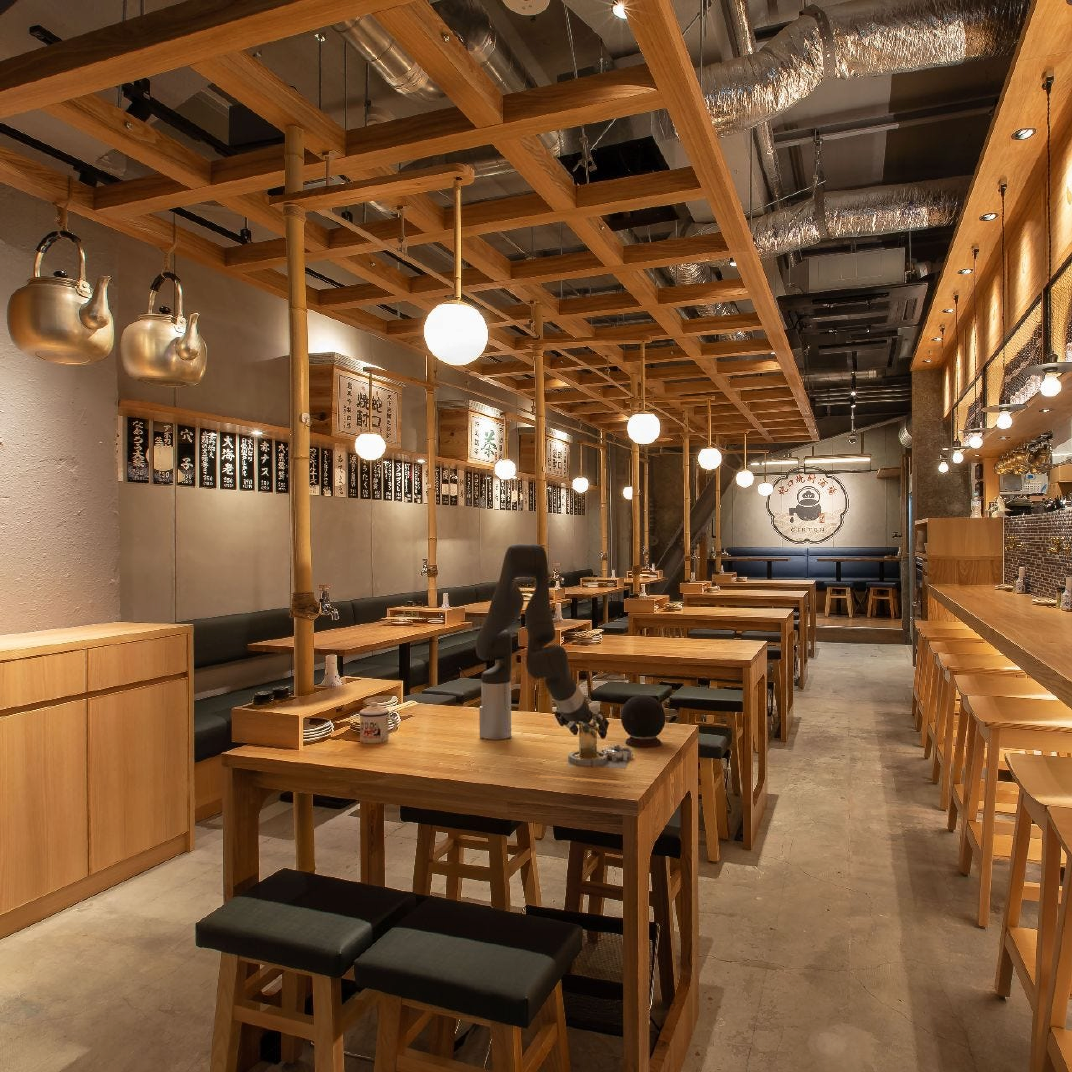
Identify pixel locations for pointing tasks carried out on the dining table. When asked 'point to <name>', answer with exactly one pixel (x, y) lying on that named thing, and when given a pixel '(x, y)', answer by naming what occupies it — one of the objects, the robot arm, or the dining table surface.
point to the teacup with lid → (375, 724)
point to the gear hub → (587, 743)
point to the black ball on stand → (643, 721)
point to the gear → (618, 753)
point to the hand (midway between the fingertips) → (590, 734)
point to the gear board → (612, 764)
